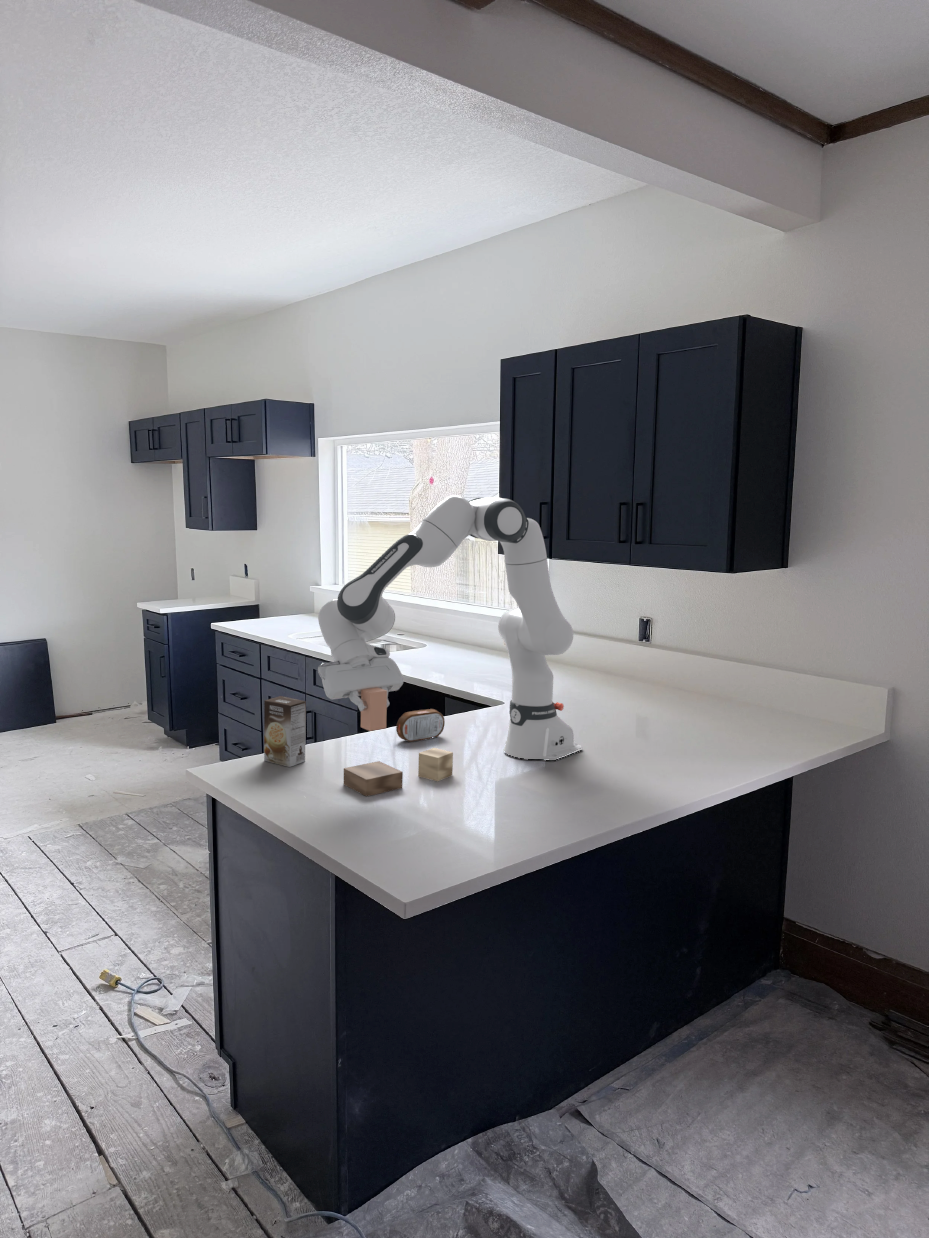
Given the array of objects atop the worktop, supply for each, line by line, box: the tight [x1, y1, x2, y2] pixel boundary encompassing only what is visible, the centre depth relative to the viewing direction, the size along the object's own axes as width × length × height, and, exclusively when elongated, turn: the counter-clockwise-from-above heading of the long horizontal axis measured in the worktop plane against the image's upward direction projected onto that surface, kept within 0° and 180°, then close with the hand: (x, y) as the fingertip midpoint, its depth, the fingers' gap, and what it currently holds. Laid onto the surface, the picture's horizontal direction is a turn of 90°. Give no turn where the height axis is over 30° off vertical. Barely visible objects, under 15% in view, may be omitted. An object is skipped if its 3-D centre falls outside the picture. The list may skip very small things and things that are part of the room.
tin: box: [395, 708, 446, 743], centre depth 241 cm, size 15×3×8 cm, turn 125°
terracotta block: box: [360, 688, 388, 732], centre depth 198 cm, size 4×4×9 cm
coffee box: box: [263, 695, 307, 768], centre depth 217 cm, size 9×6×16 cm
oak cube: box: [417, 747, 454, 782], centre depth 209 cm, size 6×6×6 cm
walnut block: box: [343, 760, 404, 797], centre depth 200 cm, size 10×10×4 cm
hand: (375, 707), depth 198 cm, fingers closed on terracotta block, 4 cm apart
